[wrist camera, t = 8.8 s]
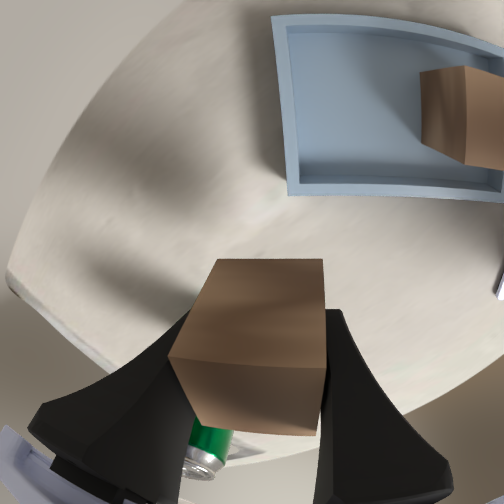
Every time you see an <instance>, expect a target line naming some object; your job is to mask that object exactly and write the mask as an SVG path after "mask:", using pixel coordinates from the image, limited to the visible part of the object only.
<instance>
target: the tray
mask: <svg viewBox="0 0 504 504" xmlns="http://www.w3.org/2000/svg"><path fill="white" fill-rule="evenodd" d="M271 23H272V30H273V38H274V47H275V55H276V64H277V73H278V82H279V92H280V102H281V113H282V124H283V136H284V149H285V162H286V176H287V191H288V196H326V195H346V196H399V197H424V198H442V199H458V200H472V201H484V202H495V203H504V171H501V170H496V169H490V168H483V167H477V166H470V165H464V164H462V163H460V162H458V161H456V160H454V159H452V158H450V157H448V156H446V155H444V154H442V153H440V152H438V151H436V150H434V149H432V148H430V147H428V146H425V145H423V144H421V89H420V73H419V72H424V71H429V70H435V69H441V68H448V67H455V66H462V65H465V66H469V67H472V68H476V69H479V70H482V71H486V72H489V73H492V74H495V75H498V76H500V77H503V78H504V48H501V47H499V46H496V45H494V44H491V43H488V42H486V41H483V40H480V39H477V38H474V37H471V36H468V35H465V34H461V33H458V32H454V31H451V30H447V29H443V28H439V27H435V26H430V25H426V24H421V23H416V22H410V21H404V20H398V19H391V18H383V17H375V16H364V15H349V14H293V15H278V16H271Z"/></svg>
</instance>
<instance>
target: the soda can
mask: <svg viewBox="0 0 504 504" xmlns="http://www.w3.org/2000/svg"><path fill="white" fill-rule="evenodd" d="M233 433H234V430H228V429H221V428H214V427H208V426H203V425H201V423H200V421H199V419H198V417H197V415H196V417H195V420H194V423H193V427H192V431H191V435H190V438H189V442H188V447H187V451H186V456H185V460H184V466H183V471H182V477H186V478H190V479H195V480H203V481H210V480H213V479H214V478H215V473H216V472H217V471H218V470H220V469H221V468H222V467H224V466H225V463H226V459H227V456H228V452H229V448H230V444H231V440H232V436H233Z"/></svg>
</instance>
